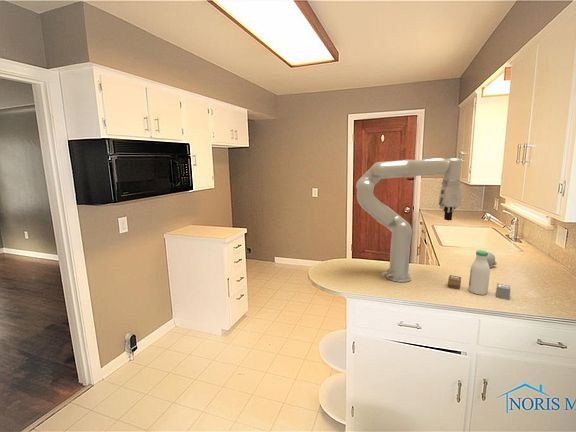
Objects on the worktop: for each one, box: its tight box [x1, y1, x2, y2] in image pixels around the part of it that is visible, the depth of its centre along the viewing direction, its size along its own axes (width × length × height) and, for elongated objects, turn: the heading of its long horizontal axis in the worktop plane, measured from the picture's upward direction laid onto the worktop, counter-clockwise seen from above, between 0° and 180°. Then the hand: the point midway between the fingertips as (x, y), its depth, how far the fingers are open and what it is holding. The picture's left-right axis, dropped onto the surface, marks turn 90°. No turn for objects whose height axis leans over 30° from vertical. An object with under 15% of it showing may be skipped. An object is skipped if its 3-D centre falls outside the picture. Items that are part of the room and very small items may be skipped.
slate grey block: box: [495, 282, 511, 301], centre depth 137 cm, size 5×5×5 cm
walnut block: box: [447, 274, 462, 291], centre depth 148 cm, size 5×5×5 cm
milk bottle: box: [468, 249, 491, 296], centre depth 141 cm, size 8×8×20 cm
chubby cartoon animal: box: [487, 251, 498, 269], centre depth 173 cm, size 7×12×8 cm, turn 110°
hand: (447, 219), depth 151 cm, fingers closed
